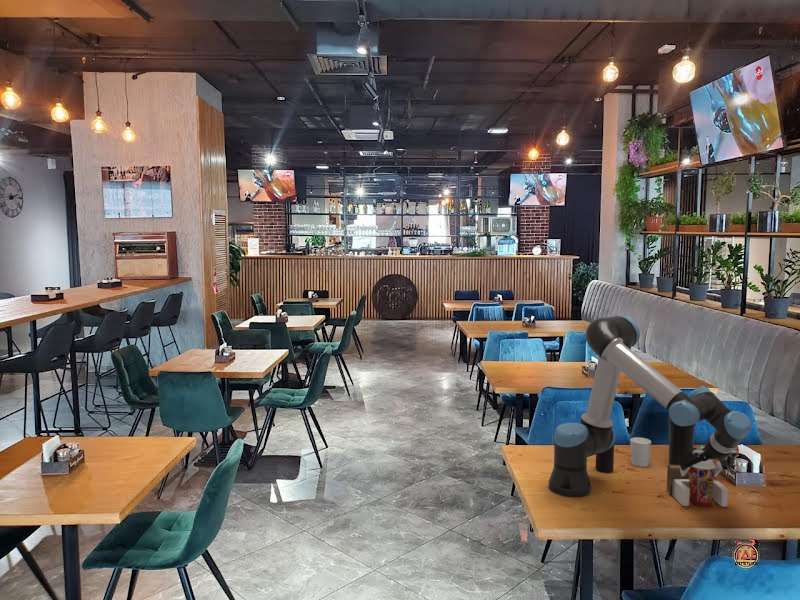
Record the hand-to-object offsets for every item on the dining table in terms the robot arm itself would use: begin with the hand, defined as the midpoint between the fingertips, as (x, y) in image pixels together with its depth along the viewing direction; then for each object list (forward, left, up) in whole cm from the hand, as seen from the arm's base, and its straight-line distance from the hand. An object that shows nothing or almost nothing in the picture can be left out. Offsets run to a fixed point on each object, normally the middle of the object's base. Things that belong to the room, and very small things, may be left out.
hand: (697, 472), depth 215 cm
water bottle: (+18, +28, -10) cm, 35 cm away
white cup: (+4, +35, -10) cm, 36 cm away
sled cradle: (-1, -2, -10) cm, 10 cm away
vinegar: (-14, +34, -10) cm, 38 cm away
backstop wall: (+2, +4, -10) cm, 11 cm away
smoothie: (-1, -3, -10) cm, 10 cm away
